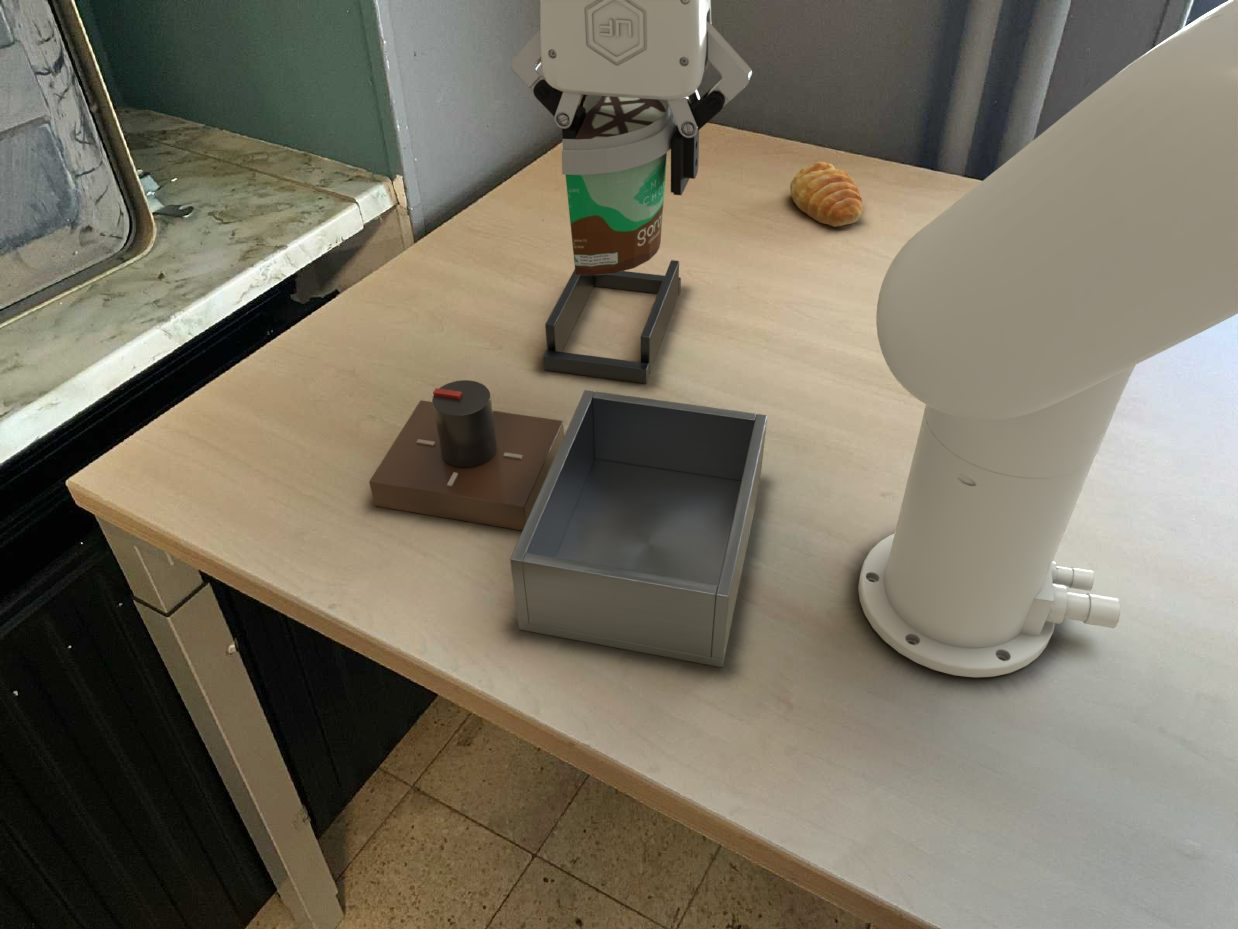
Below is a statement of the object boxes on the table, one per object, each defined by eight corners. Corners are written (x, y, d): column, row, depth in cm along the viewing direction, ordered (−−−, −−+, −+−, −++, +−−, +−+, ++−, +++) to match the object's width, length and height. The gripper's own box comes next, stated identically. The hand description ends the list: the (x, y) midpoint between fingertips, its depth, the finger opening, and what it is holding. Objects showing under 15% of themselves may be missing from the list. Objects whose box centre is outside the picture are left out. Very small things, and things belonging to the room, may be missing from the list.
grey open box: (759, 484, 76) (767, 414, 72) (722, 668, 63) (729, 597, 59) (587, 458, 79) (584, 389, 74) (518, 629, 66) (509, 559, 61)
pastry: (877, 224, 106) (883, 191, 104) (820, 235, 105) (824, 202, 102) (836, 187, 113) (840, 154, 110) (781, 196, 111) (784, 164, 109)
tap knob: (504, 436, 77) (497, 380, 73) (486, 471, 74) (478, 415, 70) (453, 428, 78) (444, 373, 74) (433, 463, 74) (422, 407, 71)
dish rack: (680, 290, 97) (681, 254, 94) (646, 383, 86) (646, 345, 83) (589, 279, 99) (587, 243, 96) (543, 370, 87) (540, 331, 85)
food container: (659, 294, 66) (658, 149, 60) (569, 285, 67) (559, 142, 61) (690, 210, 75) (692, 76, 69) (610, 204, 77) (606, 71, 70)
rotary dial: (565, 444, 80) (563, 418, 78) (527, 531, 73) (524, 505, 71) (424, 423, 82) (420, 398, 80) (374, 506, 75) (368, 479, 73)
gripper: (457, -106, 56) (493, 195, 67) (766, -98, 52) (748, 218, 64) (503, -132, 61) (529, 150, 73) (785, -128, 57) (765, 169, 69)
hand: (631, 179), depth 68 cm, fingers closed on food container, 6 cm apart
